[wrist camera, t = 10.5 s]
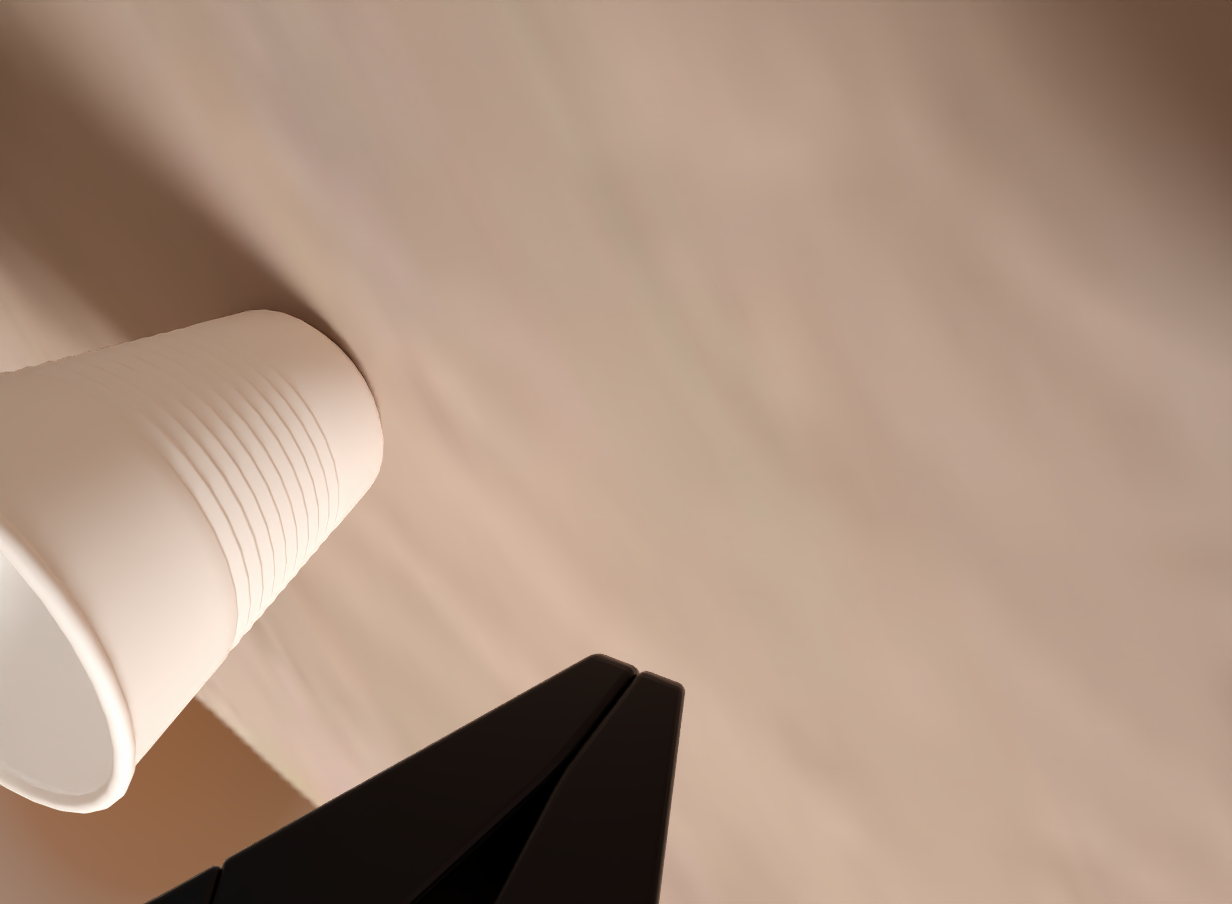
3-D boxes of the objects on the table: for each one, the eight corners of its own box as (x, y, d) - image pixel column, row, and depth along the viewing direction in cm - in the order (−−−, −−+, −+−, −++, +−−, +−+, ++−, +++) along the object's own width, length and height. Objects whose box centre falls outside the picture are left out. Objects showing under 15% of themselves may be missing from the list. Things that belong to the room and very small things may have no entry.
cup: (131, 234, 28) (-316, 390, 19) (406, 241, 24) (-11, 446, 15) (232, 522, 32) (-93, 751, 24) (477, 571, 28) (188, 871, 20)
